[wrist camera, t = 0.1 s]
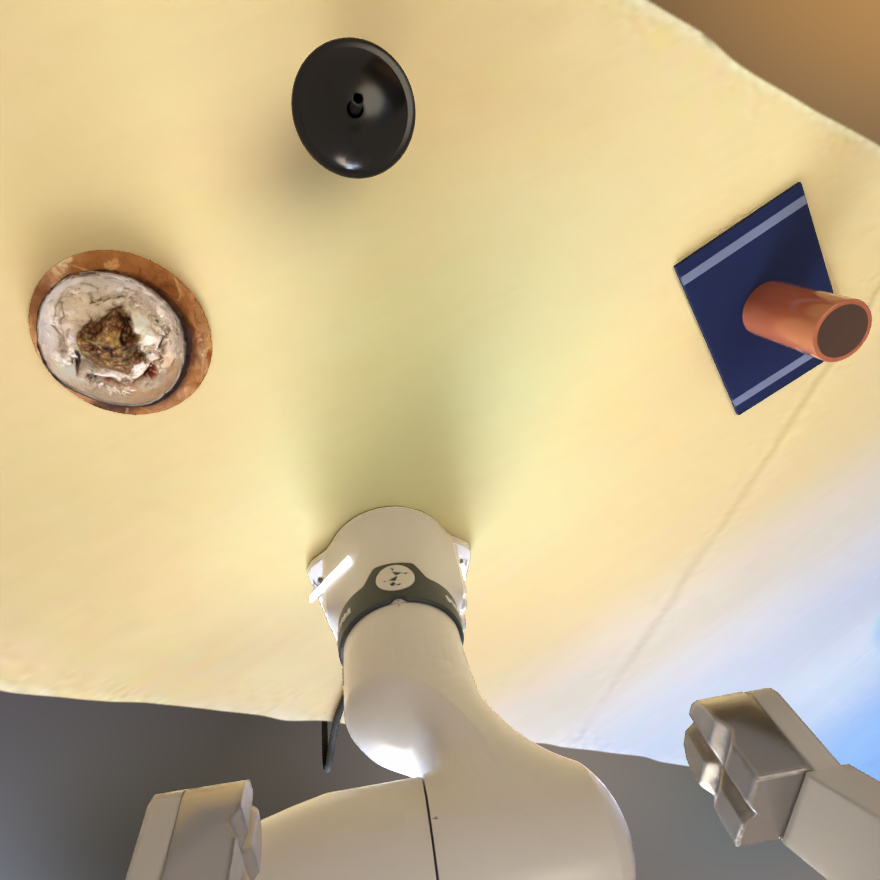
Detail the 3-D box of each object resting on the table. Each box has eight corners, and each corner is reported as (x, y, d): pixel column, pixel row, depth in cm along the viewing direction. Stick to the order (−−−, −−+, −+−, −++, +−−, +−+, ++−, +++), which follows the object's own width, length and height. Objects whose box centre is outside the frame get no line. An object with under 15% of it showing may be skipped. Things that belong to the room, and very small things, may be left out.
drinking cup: (366, 55, 46) (384, -24, 28) (412, 149, 49) (454, 133, 31) (284, 104, 46) (251, 58, 28) (335, 195, 50) (334, 205, 32)
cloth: (846, 344, 64) (849, 345, 64) (736, 414, 66) (739, 415, 65) (798, 182, 56) (801, 182, 55) (673, 266, 57) (675, 266, 57)
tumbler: (786, 333, 62) (862, 359, 53) (737, 337, 61) (806, 365, 52) (798, 278, 60) (880, 296, 51) (747, 282, 59) (821, 301, 50)
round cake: (167, 440, 56) (155, 458, 52) (3, 360, 51) (-24, 375, 47) (239, 315, 52) (232, 325, 49) (71, 214, 47) (48, 217, 43)
